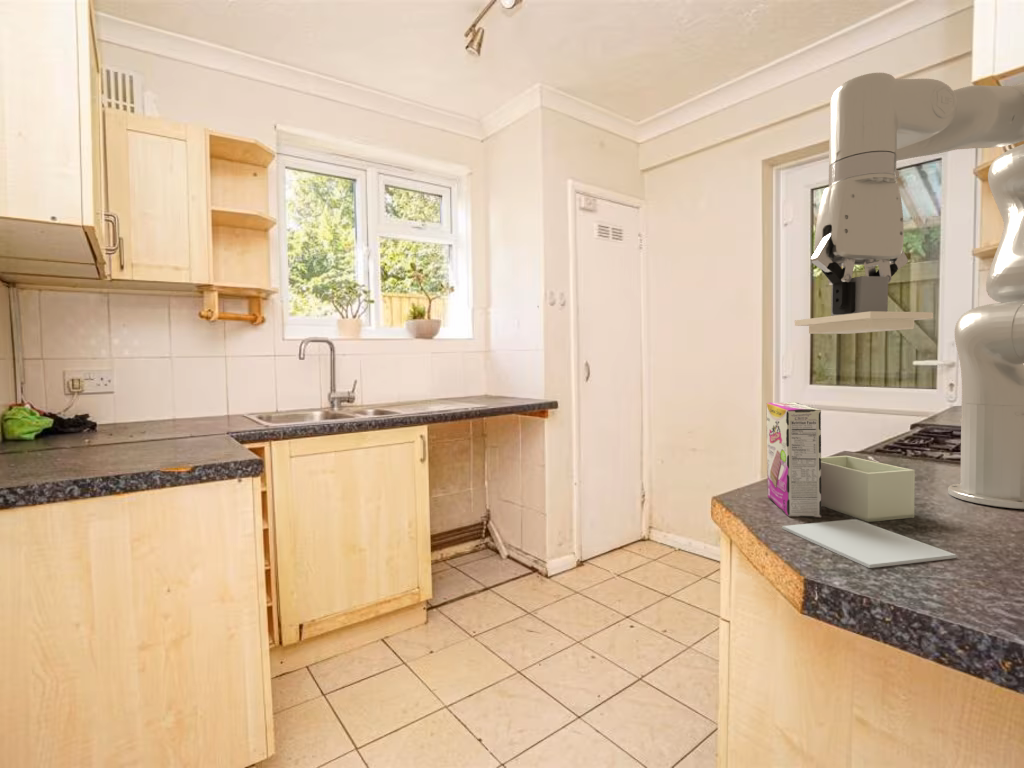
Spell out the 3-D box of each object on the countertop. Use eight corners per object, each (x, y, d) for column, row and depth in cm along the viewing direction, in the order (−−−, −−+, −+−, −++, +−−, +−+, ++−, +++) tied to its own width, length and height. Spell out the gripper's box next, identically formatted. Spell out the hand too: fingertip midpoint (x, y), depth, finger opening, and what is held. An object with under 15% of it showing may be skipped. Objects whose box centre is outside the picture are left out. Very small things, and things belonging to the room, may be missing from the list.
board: (855, 521, 74) (855, 519, 74) (956, 557, 60) (956, 554, 60) (782, 528, 72) (782, 526, 72) (869, 568, 58) (869, 564, 58)
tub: (846, 496, 87) (846, 455, 87) (914, 517, 75) (914, 470, 75) (805, 500, 86) (805, 458, 85) (867, 521, 74) (868, 473, 73)
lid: (848, 334, 77) (849, 287, 77) (932, 328, 64) (934, 271, 64) (794, 334, 75) (795, 286, 75) (870, 327, 63) (871, 270, 62)
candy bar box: (765, 497, 88) (764, 402, 87) (797, 498, 87) (797, 401, 86) (786, 517, 77) (786, 408, 76) (823, 519, 76) (823, 408, 75)
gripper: (890, 189, 74) (887, 317, 75) (786, 183, 71) (784, 315, 72) (942, 169, 67) (938, 311, 67) (827, 162, 64) (825, 310, 64)
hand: (858, 312), depth 70 cm, fingers closed on lid, 4 cm apart
